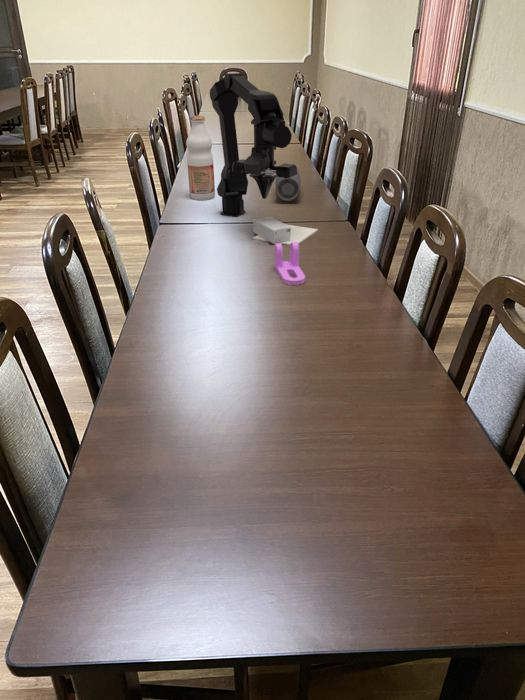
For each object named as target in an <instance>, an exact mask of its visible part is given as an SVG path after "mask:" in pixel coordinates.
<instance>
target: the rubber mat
mask: <svg viewBox="0 0 525 700" xmlns="http://www.w3.org/2000/svg"><path fill="white" fill-rule="evenodd" d="M284 224H285V223H284ZM285 225H287V226H289V227H291V230H290V240H289V241H284V242H279V243H281V244H282V245H287V246H290V244H291V242H297V243H298V245H300V244H301V243H303V242H304V241H305V240H307V239H309V238H310V237H311V236H312V235H314V234H315V233H317V232H318V231H319V228H318V229H317V228H313V227H306V226H298V225H294V224H293V225H292V224H285ZM252 240H255V241H256V240H257V241H262V242H268V243H270V242H269V241H268V240H266V239H264V238H263V237H261V236H259V235H258V234H256V235H255V236H253V237H252Z"/></svg>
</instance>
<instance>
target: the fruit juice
mask: <svg viewBox="0 0 525 700" xmlns="http://www.w3.org/2000/svg"><path fill="white" fill-rule="evenodd" d="M205 119H206V117H205V116H204V115H191V116H190V122H191V128H190V131H189V134H188V136H187V138H186V142H185V143H186V149H187V156H186V161H187V162H186V164H187V176H188V177H187V178H188V188H189V189H188V190H189V197H190V199H191V200H194V201H208V200H212V199H214V198H215V196H216V190H215V187H216V186H215V170H214V169H215V166H214V156H213V154H212V146H213V142H212V138H211V137H210V135H209V134H208V131H207V128H206V126H205Z"/></svg>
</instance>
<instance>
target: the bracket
mask: <svg viewBox="0 0 525 700" xmlns="http://www.w3.org/2000/svg"><path fill="white" fill-rule="evenodd" d="M273 247H274V248H273V249H274V251H273V253H274V254H273V255H274V256H273V257H274V259H273V267H274V270H275V271H276V273H277V272H278V273H277V274H278V276H279V278H280V277H281V278H280V280H281V279H282V280H281V281H282V283H283V282H284V283H286V284H285V285H287V284H289V285H288V286H292V285H297V286H300V285H299V284H302V283H304V282H305V283H306V275H305V273H304V271H303V270H302V268H301V267H300V266H299V262H300V261H299V260H300V247H299V244H298V243H297V242H291V244H290V245H289V260H288V261H287V260H286V261H283V259H284V258H283V257H284V256H283V255H284V254H283V253H284V250H283V244H281V243H275V244H274V246H273ZM290 273H291V274H290ZM293 274H294V275H295V276H294V275H293ZM291 275H293V276H294V277H291ZM284 283H283V284H284ZM305 283H304V284H305ZM302 285H303V284H302Z"/></svg>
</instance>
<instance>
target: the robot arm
mask: <svg viewBox="0 0 525 700" xmlns="http://www.w3.org/2000/svg"><path fill="white" fill-rule="evenodd" d="M239 98H240V99H241V100H243V102H245V103H246V104H247V110H248V112H249V113H250V115H251V116H252V118H253V119H251V121H250V124H251V125H253V147H251V149H250V150H251V151H250V152H251V153H250V155H249V156H248V157H246V159H240V155H239V144H238V136H237V128H236V127H237V126H236V119H235V116H236V115H235V114H236V111H237V108H238V106H239ZM209 99H210V101H211V105H212V108H213V110H214V111H215V113H216V114H217V115H218V117H219V118H218V119H219V125H220V126H219V127H220V135H221V143H222V144H221V146H222V153H223V160H224V161H223V162H224V165H223V168H222V169H221V173H220V182H219V183H218V186H217V188H216V192H217V195H218V196H219V197H220V198H221V203H222V204H221V207H222V208H221V209H222V211H221V212H219V214H220V215H223V216H229V217H238V216H241V215H243V214H244V213H246V210H245V206H244V205H245V201H244V197H243V196H246V195H247V193H248V186H249V179H248V175H249V177H251V178H253V180H254V181H255V182H256V184H257V187H258V190H259V192H260V194H261V195H260V196H261V198H262V199H264V200H265V199H267V197H268V196H269V193H270V190H271V188H272V186H273V183H274V181H276V177H277V176H278V177H282V178H290V177H292V176H294V175H297V170H298V167H297V165H296V164H291V163H282V164H280V165H278V166H277V160H275V150H277V148H279V149H284V148H286V147H288V146H289V145H290V143H291V141H292V138H293V137H292V132H291V129H290V128H289V127H288V126H287V125H286V120H285V117H284V113H283V110H282V108H281V105H280V102H279V99H278V97H277V96H276V94H274V93H272V92H270V91H266V90H261V89H259V88H257V87H256V86H255V84H253V83H252V82H251V81H250V80H248V79H247V78H246V77H244V74H243V73H240V72H228V73H227V74H225V75H224V76H223V78H221V79H219V80H218V81H216V82H214V83H213V85H212V86H211V88H210V90H209Z"/></svg>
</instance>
